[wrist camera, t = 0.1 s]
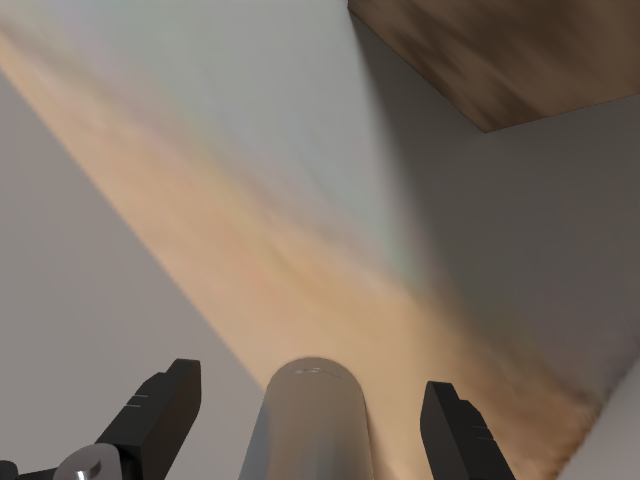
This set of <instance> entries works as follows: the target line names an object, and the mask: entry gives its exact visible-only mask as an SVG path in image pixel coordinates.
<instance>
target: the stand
mask: <svg viewBox="0 0 640 480" xmlns="http://www.w3.org/2000/svg"><path fill="white" fill-rule="evenodd" d="M348 9H349V10H350V11H351V12H352V13H354V14H355V15H356V16H357V17H358V18H359V19H360V20H361V21H362V22H363V23H364V24H366V25H367V26H368V27H369V28H370V29H371V30H372V31H373V32H374V33H375V34H377V35H378V36H379V37H380V38H381V39H382V40H383V41H384V42H385V43H386V44H388V45H389V46H390V47H391V48H392V49H393V50H394V51H395V52H396V53H397V54H398V55H400V56H401V57H402V58H403V59H404V60H405V61H406V62H407V63H408V64H409V65H411V66H412V67H413V68H414V69H415V70H416V71H417V72H418V73H419V74H420V75H421V76H423V77H424V78H425V79H426V80H427V81H428V82H429V83H430V84H431V85H432V86H434V87H435V88H436V89H437V90H438V91H439V92H440V93H441V94H442V95H443V96H444V97H446V98H447V99H448V100H449V101H450V102H451V103H452V104H453V105H454V106H455V107H457V108H458V109H459V110H460V111H461V112H462V113H463V114H464V115H465V116H466V117H468V118H469V119H470V120H471V121H472V122H473V123H474V124H475V125H476V126H477V127H478V128H480V129H481V130H482V131H483V132H484V133H487V132H491V131H495V130H499V129H502V128H506V127H510V126H514V125H518V124H522V123H526V122H530V121H533V120H537V119H541V118H545V117H549V116H553V115H557V114H561V113H564V112H568V111H572V110H576V109H580V108H584V107H588V106H592V105H595V104H599V103H603V102H607V101H611V100H615V99H619V98H623V97H627V96H630V95H634V94H638V93H640V0H348Z"/></svg>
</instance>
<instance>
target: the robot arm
mask: <svg viewBox="0 0 640 480" xmlns="http://www.w3.org/2000/svg"><path fill="white" fill-rule="evenodd" d="M200 404H201V366H200V361H198V360H189V359H176V360H175V361H174V362H173V364H172V365H171V366H170V368H169V369H168V370H167V372H166V373H161V372H158V373H157V374H155V375H154V376H152V377H151V378H149V379H148V380H146V381H145V382H144V383H143V384H142V385H141V387H140V388H139V389H138V390H137V391H136V393H135V395H134V396H132V398H131V399H130V400H129V401H128V403H127V405H126V406H124V408H123V409H122V410H121V411H120V412H119V414H118V415H117V416H116V417H115V419H114V420H113V421H112V422H111V424H110V425H109V426H108V427H107V428H106V430H105V431H104V432H103V433H102V435H101V436H100V437H99V438H98V440H97V441H96V442H95V443H94V444H93V445H89V446H86V447H84V448H81V449H79V450H78V451H76V452H74V453H73V454H71V455H70V456H69V457H67V458H66V459H65V460H64V461H63V462H62V463H61V464H60V465H59V467H57V468H53V469H48V470H43V471H38V472H32V473H27V474H21V475H19V474H18V470H17V466H16V465H15V464H14V463H13V462H10V461H5V460H3V461H2V460H1V461H0V480H164V479H165V477H166V475H167V473H168V471H169V469H170V467H171V466H172V464H173V462H174V460H175V458H176V456H177V454H178V452H179V450H180V448H181V446H182V444H183V442H184V440H185V438H186V436H187V434H188V433H189V431H190V429H191V427H192V424H193V423H194V421H195V419H196V417H197V414H198V412H199V409H200ZM420 431H421V437H422V440H423V444H424V447H425V451H426V454H427V458H428V461H429V465H430V468H431V471H432V475H433V478H434V480H516V479H515V477H514V475H513V473H512V471H511V470H510V468H509V466H508V464H507V462H506V460H505V458H504V456H503V455H502V453H501V451H500V449H499V447H498V445H497V443H496V442H495V441H494V439H493V436H492V434H491V432H490V430H489V429H488V428H487V425H486V423H485V421H484V419H483V417H482V415H481V413H480V412H479V411H478V410H477V409H476V408H475V407H474V406H473V405H472V404H471V403H470V402H469V401H468V400H460V399H459V397H458V395H457V393H456V391H455V389H454V387H453V385H452V384H451V383H446V382H435V381H428V382H427V385H426V390H425V395H424V400H423V406H422V411H421V417H420ZM238 480H374V476H373V468H372V460H371V452H370V444H369V437H368V428H367V420H366V413H365V405H364V398H363V393H362V390H361V387H360V385H359V383H358V381H357V380H356V378H355V377H354V376H353V375H352V374H351V373H350V372H349V371H348V370H347V369H346V368H344V367H343V366H341V365H340V364H338V363H335V362H333V361H330V360H327V359H322V358H304V359H299V360H295V361H293V362H291V363H288V364H287V365H285V366H284V367H282V368H281V369H279V370H278V372H277V373H276V374H275V375H274V376H273V377H272V379H271V381H270V382H269V384H268V387H267V390H266V393H265V396H264V399H263V403H262V406H261V409H260V412H259V415H258V418H257V421H256V424H255V427H254V430H253V434H252V437H251V440H250V443H249V446H248V450H247V453H246V456H245V460H244V463H243V466H242V469H241V472H240V475H239V479H238Z"/></svg>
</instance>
